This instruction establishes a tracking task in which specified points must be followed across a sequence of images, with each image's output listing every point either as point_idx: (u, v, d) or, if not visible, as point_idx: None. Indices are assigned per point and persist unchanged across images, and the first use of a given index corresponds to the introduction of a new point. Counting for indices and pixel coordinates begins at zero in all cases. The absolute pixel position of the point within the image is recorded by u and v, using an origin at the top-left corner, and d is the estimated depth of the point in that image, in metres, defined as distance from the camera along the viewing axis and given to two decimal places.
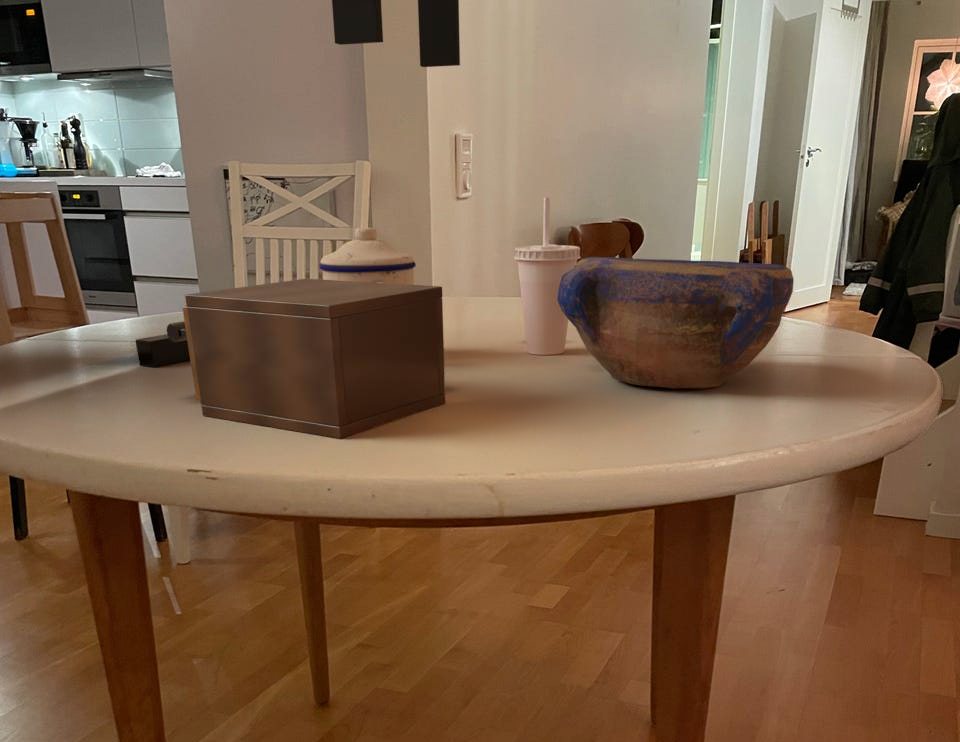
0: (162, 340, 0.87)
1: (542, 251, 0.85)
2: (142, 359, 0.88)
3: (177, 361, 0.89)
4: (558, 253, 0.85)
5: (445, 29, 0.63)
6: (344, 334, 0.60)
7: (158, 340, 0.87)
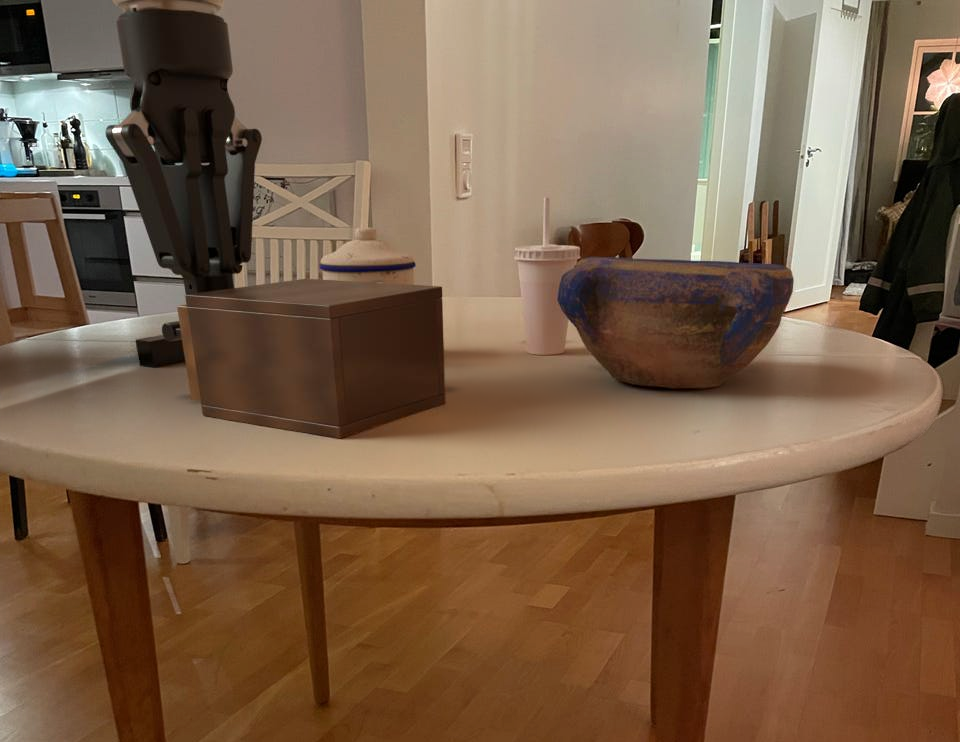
0: (162, 340, 0.87)
1: (542, 251, 0.85)
2: (142, 359, 0.88)
3: (177, 361, 0.89)
4: (558, 253, 0.85)
5: None
6: (344, 334, 0.60)
7: (158, 340, 0.87)
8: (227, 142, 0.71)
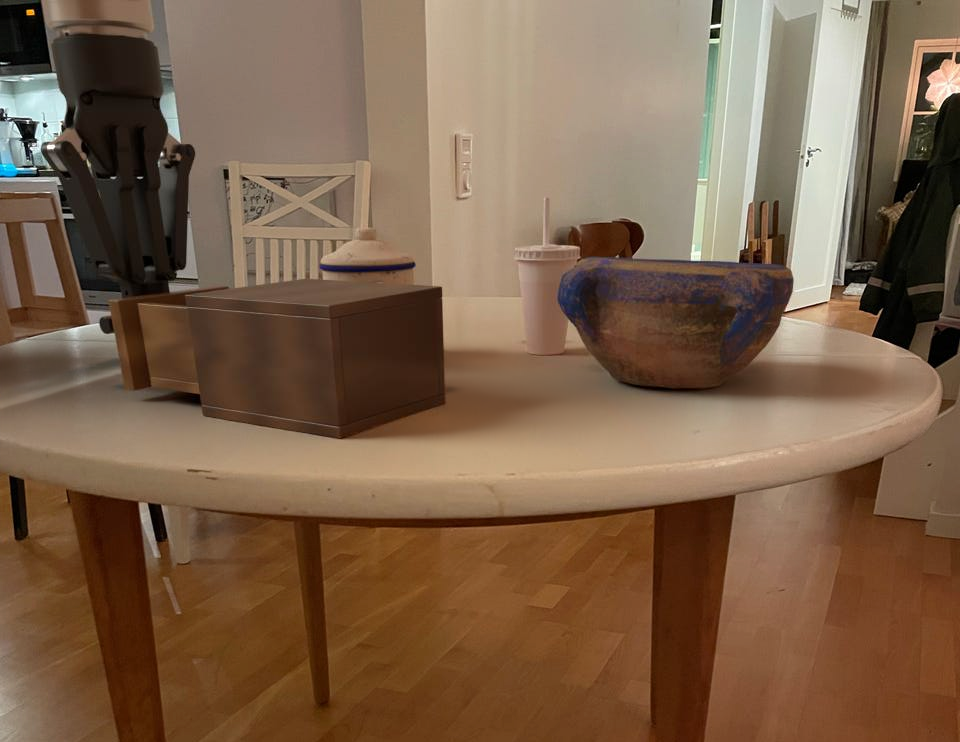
0: None
1: (542, 251, 0.85)
2: None
3: None
4: (558, 253, 0.85)
5: None
6: (344, 334, 0.60)
7: None
8: (162, 156, 0.75)
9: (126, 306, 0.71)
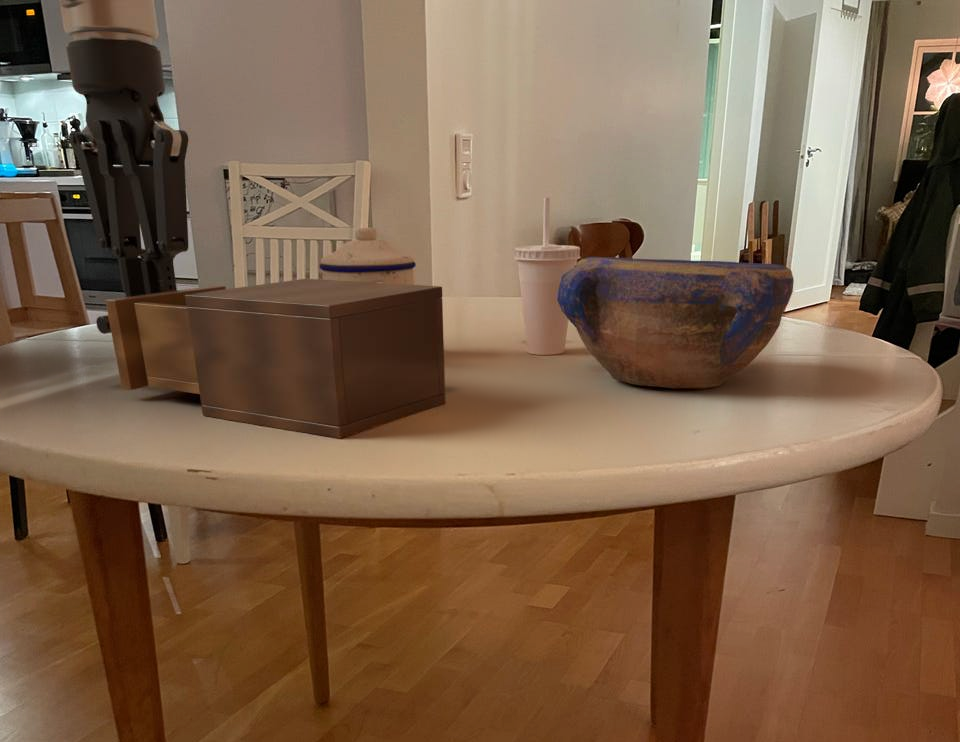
0: None
1: (542, 251, 0.85)
2: None
3: None
4: (558, 253, 0.85)
5: None
6: (344, 334, 0.60)
7: None
8: None
9: (123, 306, 0.71)
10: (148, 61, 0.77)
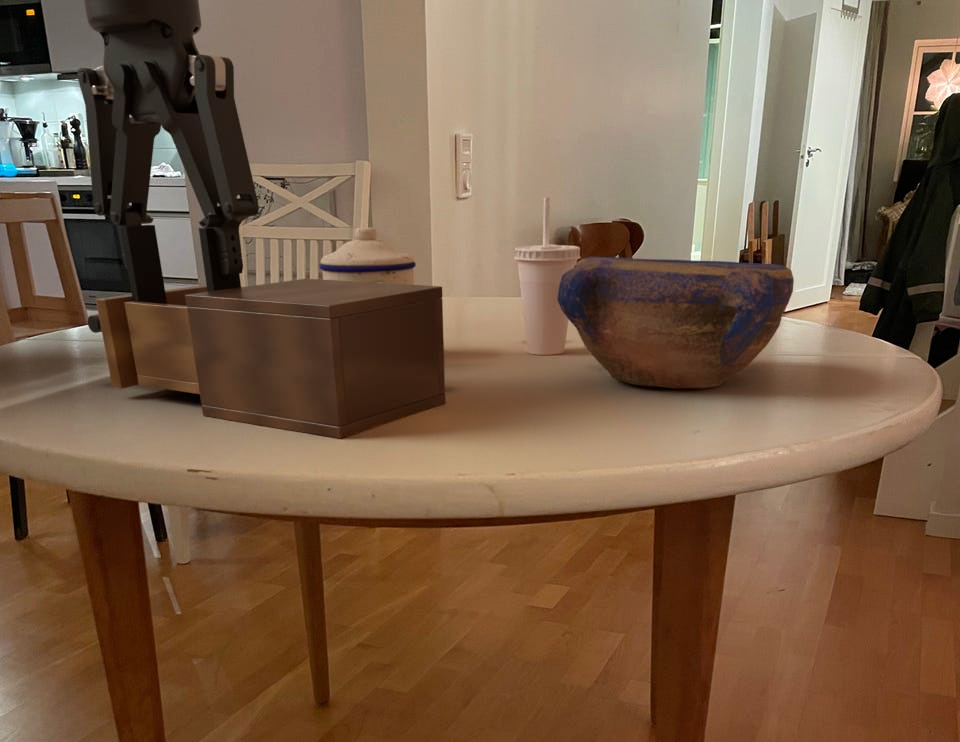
0: None
1: (542, 251, 0.85)
2: None
3: None
4: (558, 253, 0.85)
5: None
6: (344, 334, 0.60)
7: None
8: None
9: (113, 305, 0.72)
10: None
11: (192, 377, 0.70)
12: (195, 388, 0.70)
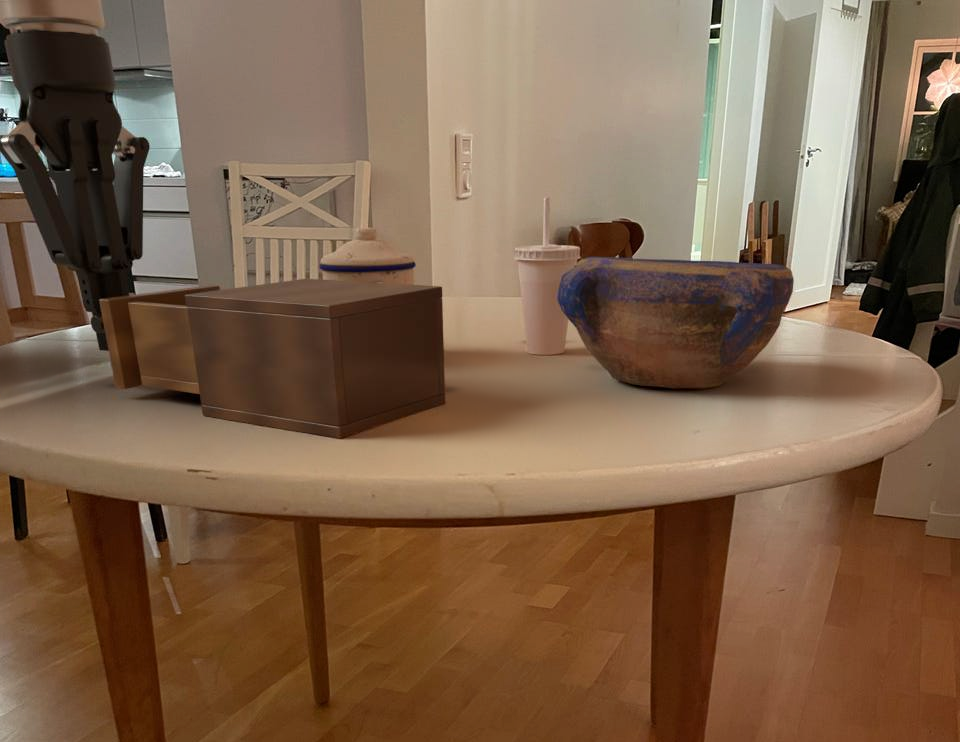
0: None
1: (542, 251, 0.85)
2: None
3: None
4: (558, 253, 0.85)
5: None
6: (344, 334, 0.60)
7: None
8: (116, 149, 0.77)
9: (117, 305, 0.71)
10: None
11: (196, 378, 0.70)
12: None
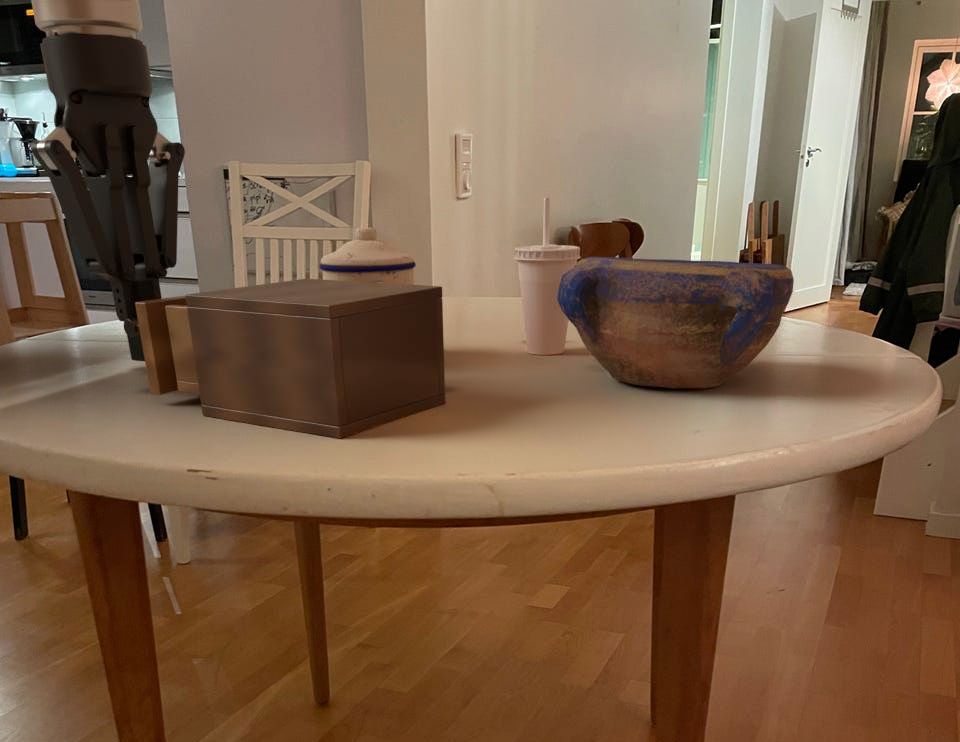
0: None
1: (542, 251, 0.85)
2: None
3: None
4: (558, 253, 0.85)
5: None
6: (344, 334, 0.60)
7: None
8: (151, 155, 0.75)
9: (153, 308, 0.69)
10: None
11: None
12: None
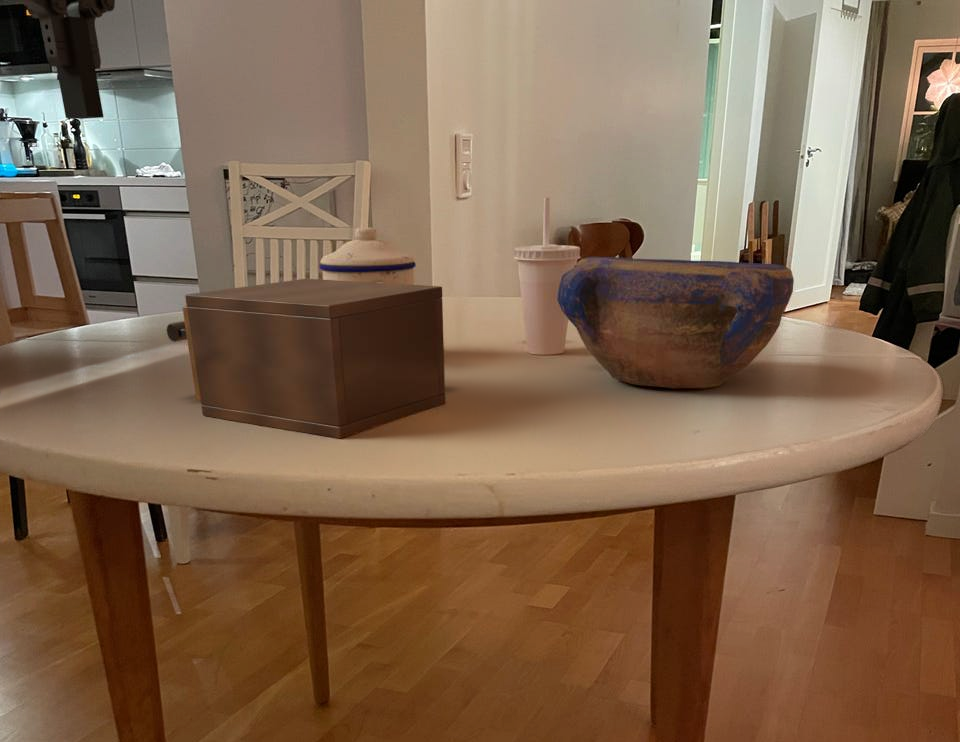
0: None
1: (542, 251, 0.85)
2: None
3: None
4: (558, 253, 0.85)
5: None
6: (344, 334, 0.60)
7: None
8: None
9: None
10: None
11: None
12: None
